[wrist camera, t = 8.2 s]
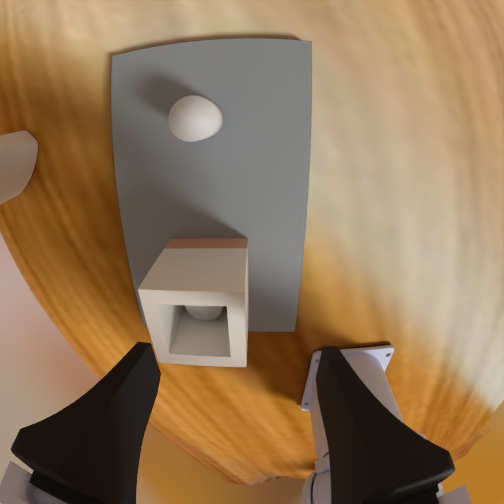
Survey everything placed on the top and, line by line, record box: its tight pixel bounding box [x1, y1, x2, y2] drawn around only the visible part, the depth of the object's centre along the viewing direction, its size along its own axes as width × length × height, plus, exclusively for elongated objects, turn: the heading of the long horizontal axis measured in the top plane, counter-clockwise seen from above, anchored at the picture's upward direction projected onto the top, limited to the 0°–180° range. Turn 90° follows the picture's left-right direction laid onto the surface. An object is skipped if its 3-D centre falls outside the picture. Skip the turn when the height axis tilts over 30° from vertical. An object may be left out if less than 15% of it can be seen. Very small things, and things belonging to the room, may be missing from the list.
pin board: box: [111, 38, 312, 332], centre depth 16 cm, size 20×12×4 cm, turn 0°
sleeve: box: [138, 238, 249, 367], centre depth 16 cm, size 5×5×6 cm
